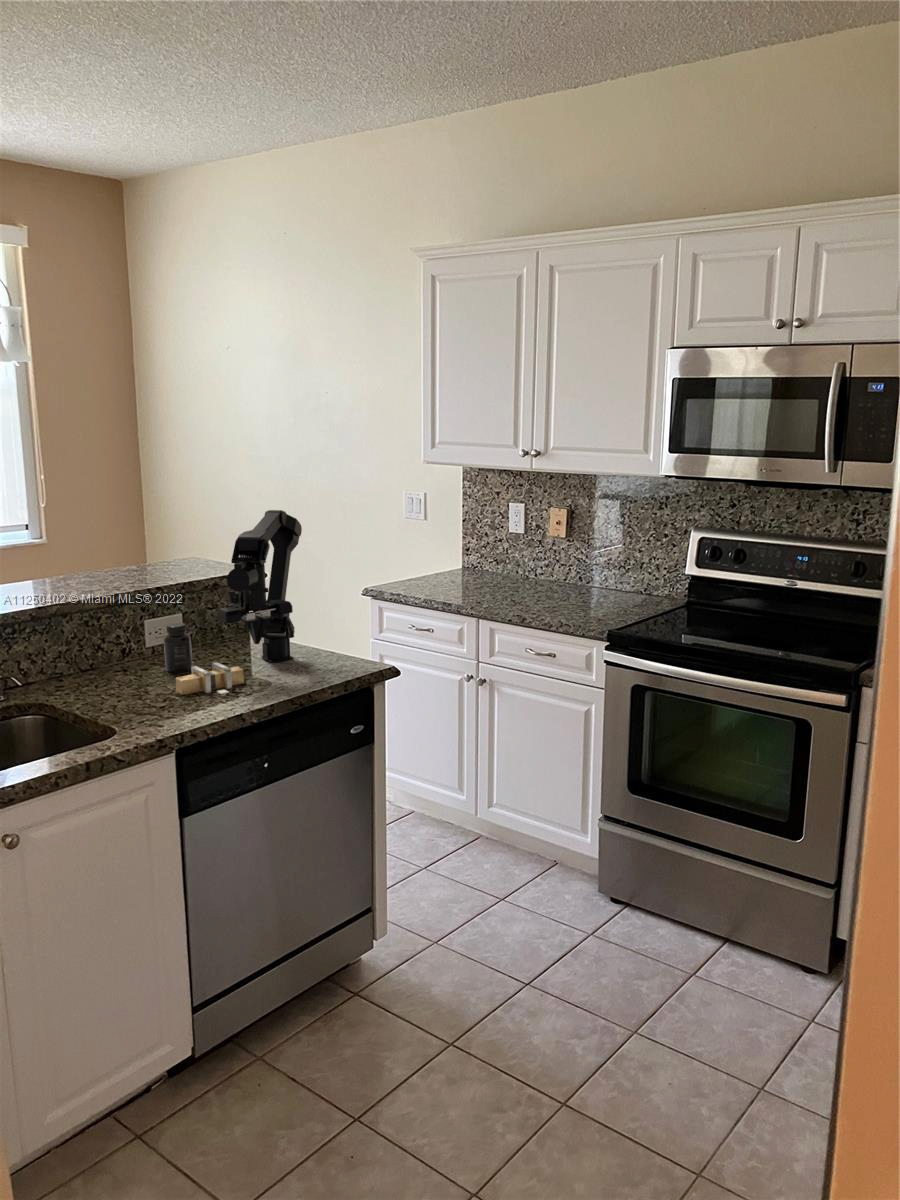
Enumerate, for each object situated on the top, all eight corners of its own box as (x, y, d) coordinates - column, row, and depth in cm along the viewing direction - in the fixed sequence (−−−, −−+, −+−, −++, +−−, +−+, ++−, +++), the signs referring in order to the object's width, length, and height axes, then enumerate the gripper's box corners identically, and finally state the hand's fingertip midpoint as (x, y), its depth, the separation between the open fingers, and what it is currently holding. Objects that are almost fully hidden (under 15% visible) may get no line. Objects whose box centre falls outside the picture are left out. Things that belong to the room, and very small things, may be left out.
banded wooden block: (237, 679, 242) (236, 666, 241) (243, 683, 239) (243, 669, 238) (176, 691, 232) (175, 677, 231) (182, 695, 229) (181, 680, 229)
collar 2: (217, 680, 241) (216, 661, 240) (232, 688, 234) (231, 668, 233) (213, 681, 240) (211, 662, 239) (227, 689, 234) (226, 669, 233)
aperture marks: (203, 679, 241) (203, 678, 241) (228, 692, 231) (228, 691, 231) (195, 681, 240) (195, 680, 240) (221, 694, 229) (221, 693, 229)
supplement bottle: (196, 666, 254) (194, 622, 251) (187, 673, 247) (184, 628, 245) (171, 665, 254) (168, 621, 252) (161, 672, 248) (158, 627, 245)
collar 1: (196, 684, 237) (195, 665, 236) (211, 692, 231) (209, 672, 230) (192, 685, 236) (191, 666, 235) (206, 693, 230) (205, 673, 229)
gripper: (270, 574, 254) (273, 632, 257) (205, 583, 242) (208, 643, 245) (292, 580, 245) (294, 640, 249) (225, 590, 234) (229, 652, 237)
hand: (256, 643), depth 245 cm, fingers closed
